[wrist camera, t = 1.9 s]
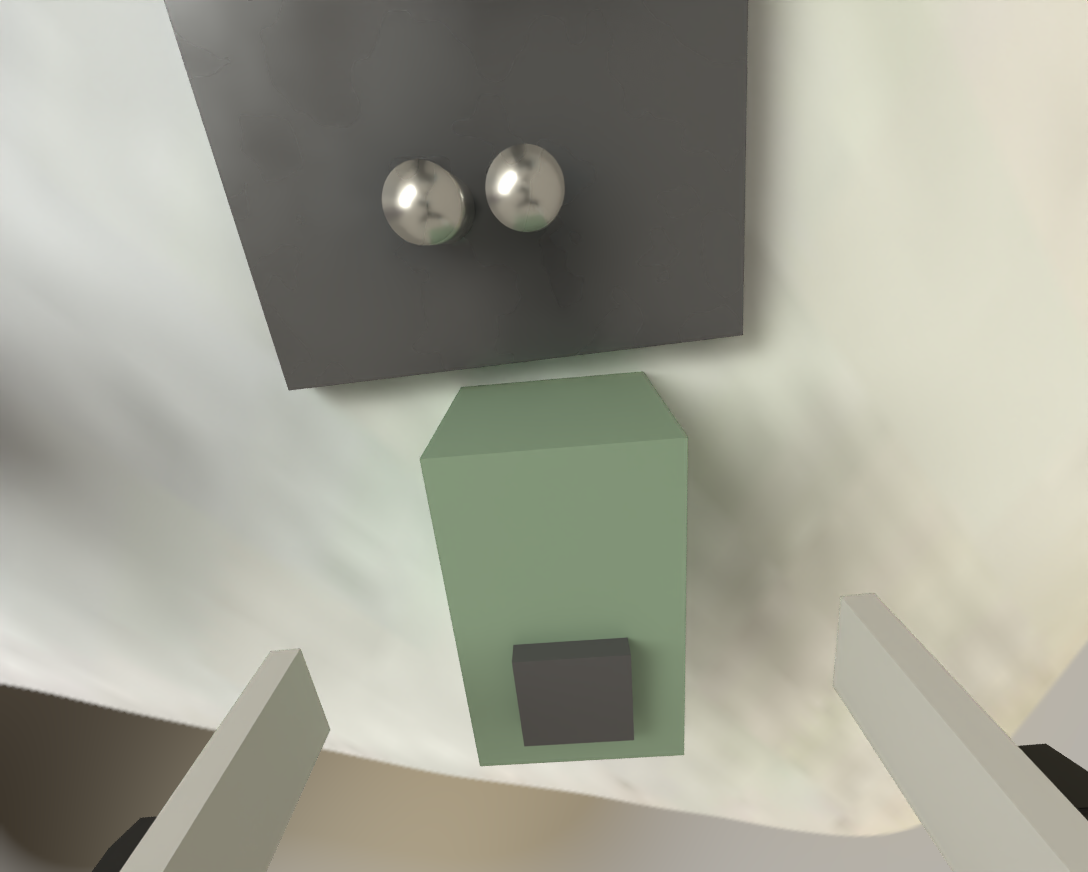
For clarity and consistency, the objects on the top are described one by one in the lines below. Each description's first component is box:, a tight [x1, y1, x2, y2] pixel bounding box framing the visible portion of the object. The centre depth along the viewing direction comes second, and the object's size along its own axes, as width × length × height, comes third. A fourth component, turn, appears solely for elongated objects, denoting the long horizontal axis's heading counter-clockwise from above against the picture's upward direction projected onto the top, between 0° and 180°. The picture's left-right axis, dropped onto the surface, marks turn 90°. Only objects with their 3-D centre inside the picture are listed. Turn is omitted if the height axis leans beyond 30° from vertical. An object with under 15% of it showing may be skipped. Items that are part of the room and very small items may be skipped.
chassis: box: [164, 0, 748, 390], centre depth 12 cm, size 16×14×4 cm
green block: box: [420, 372, 688, 766], centre depth 16 cm, size 10×6×7 cm, turn 5°
